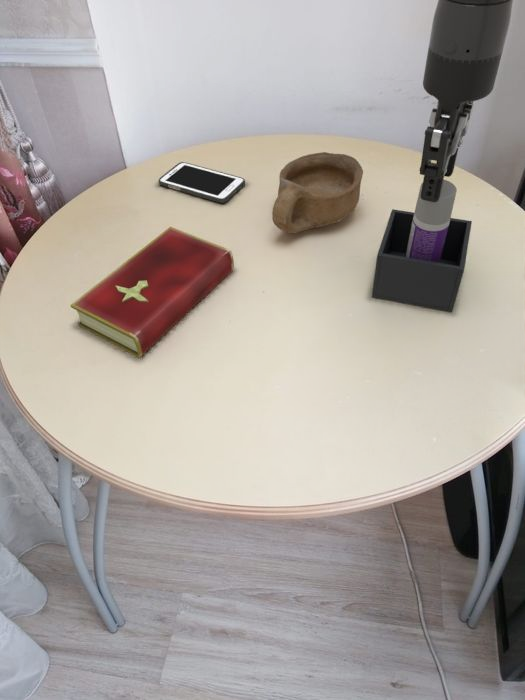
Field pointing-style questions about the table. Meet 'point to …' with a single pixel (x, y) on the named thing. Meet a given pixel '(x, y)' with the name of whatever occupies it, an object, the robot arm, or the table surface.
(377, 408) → the table surface
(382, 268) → the bin
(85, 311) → the hardcover book
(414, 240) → the container
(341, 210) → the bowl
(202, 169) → the cell phone
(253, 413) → the table surface
